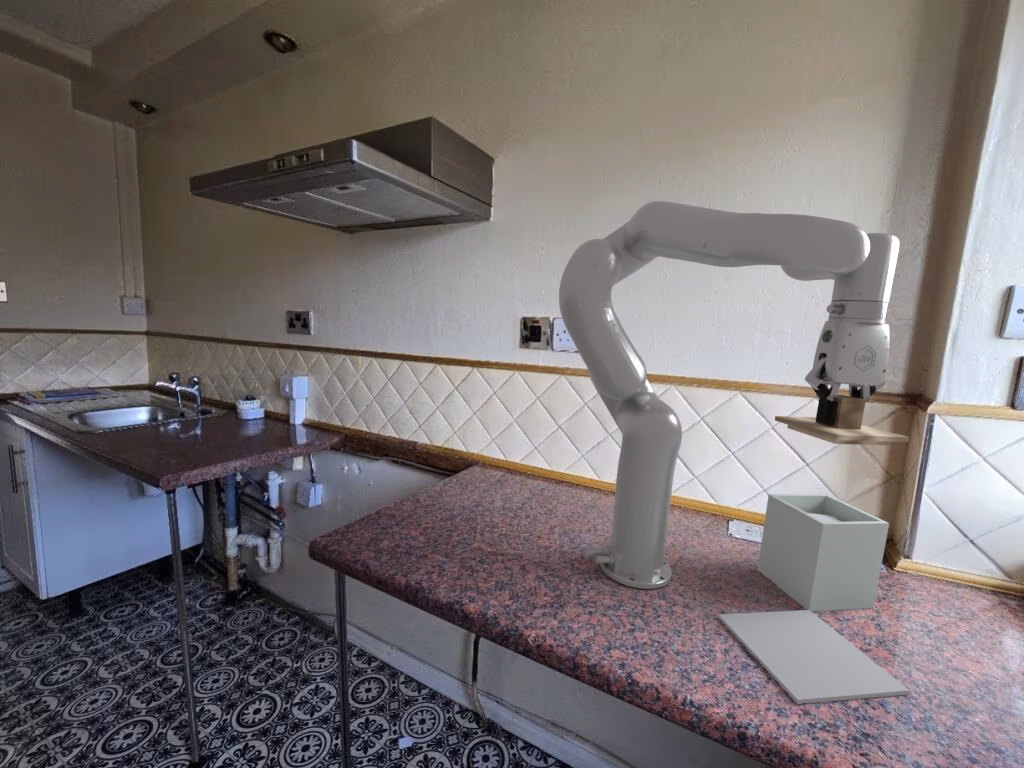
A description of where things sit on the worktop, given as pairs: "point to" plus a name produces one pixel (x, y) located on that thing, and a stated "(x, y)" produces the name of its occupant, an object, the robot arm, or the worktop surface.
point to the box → (822, 551)
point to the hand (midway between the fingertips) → (838, 422)
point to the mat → (810, 657)
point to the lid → (843, 425)
